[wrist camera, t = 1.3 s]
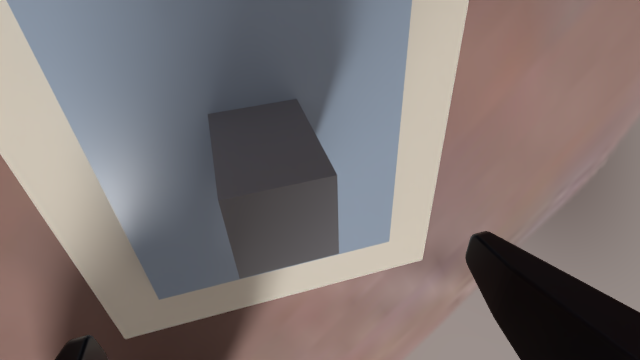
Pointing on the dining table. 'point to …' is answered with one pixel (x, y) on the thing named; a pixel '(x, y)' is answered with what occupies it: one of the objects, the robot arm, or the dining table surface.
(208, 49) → the lid
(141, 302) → the mat
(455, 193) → the dining table surface
